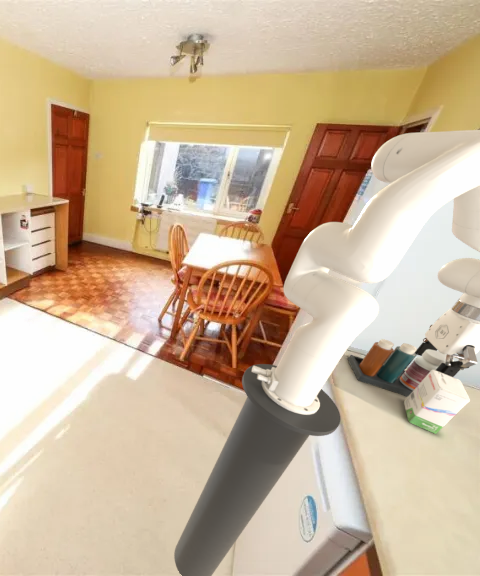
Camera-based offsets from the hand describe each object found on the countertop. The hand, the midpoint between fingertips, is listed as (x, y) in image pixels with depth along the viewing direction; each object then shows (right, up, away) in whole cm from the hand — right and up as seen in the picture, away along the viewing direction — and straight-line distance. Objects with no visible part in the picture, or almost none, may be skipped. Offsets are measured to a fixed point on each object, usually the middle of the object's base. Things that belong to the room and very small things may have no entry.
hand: (430, 365), depth 72 cm
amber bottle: (-10, -4, +8) cm, 13 cm away
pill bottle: (0, -7, +4) cm, 8 cm away
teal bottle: (-6, -6, +6) cm, 10 cm away
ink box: (-10, -12, -5) cm, 16 cm away
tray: (-4, -6, +5) cm, 9 cm away
